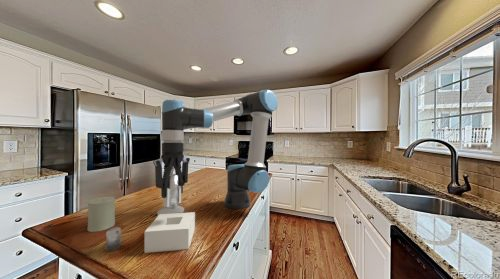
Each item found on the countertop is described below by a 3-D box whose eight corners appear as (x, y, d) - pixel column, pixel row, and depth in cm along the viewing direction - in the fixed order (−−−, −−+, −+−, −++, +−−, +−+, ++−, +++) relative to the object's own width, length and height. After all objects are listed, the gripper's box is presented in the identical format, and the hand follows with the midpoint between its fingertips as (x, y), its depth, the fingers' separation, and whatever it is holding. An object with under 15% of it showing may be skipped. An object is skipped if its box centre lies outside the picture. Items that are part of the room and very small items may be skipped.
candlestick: (183, 215, 88) (184, 154, 88) (155, 218, 84) (155, 155, 84) (184, 206, 100) (184, 153, 100) (159, 209, 96) (159, 153, 96)
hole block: (194, 228, 75) (194, 212, 75) (188, 249, 61) (188, 228, 61) (159, 231, 73) (159, 214, 73) (144, 252, 59) (144, 231, 59)
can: (92, 234, 70) (92, 204, 70) (83, 228, 75) (84, 199, 75) (119, 224, 78) (119, 197, 78) (110, 219, 83) (110, 194, 83)
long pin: (179, 204, 69) (179, 173, 69) (176, 208, 65) (176, 176, 65) (168, 205, 68) (168, 174, 68) (165, 209, 64) (165, 176, 65)
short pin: (123, 243, 64) (123, 226, 64) (116, 250, 60) (116, 232, 60) (110, 244, 64) (110, 227, 64) (103, 251, 60) (103, 233, 60)
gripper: (186, 141, 76) (186, 196, 76) (144, 141, 62) (143, 208, 62) (197, 141, 71) (197, 200, 71) (154, 142, 58) (154, 214, 58)
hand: (172, 204), depth 67 cm, fingers closed on long pin, 4 cm apart
